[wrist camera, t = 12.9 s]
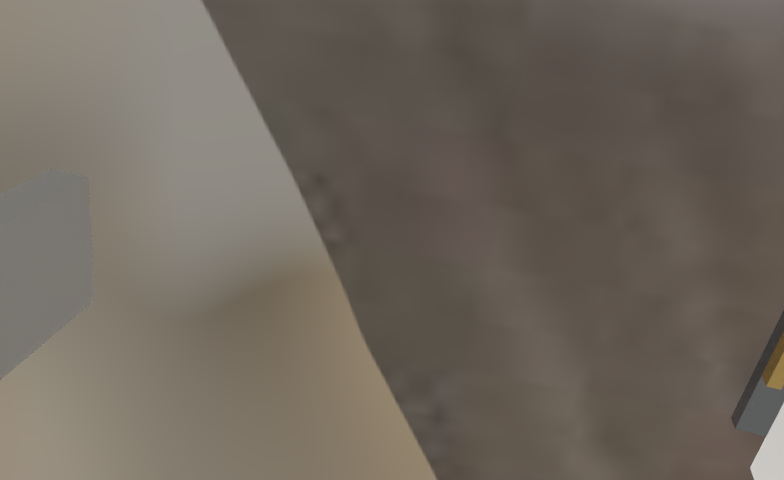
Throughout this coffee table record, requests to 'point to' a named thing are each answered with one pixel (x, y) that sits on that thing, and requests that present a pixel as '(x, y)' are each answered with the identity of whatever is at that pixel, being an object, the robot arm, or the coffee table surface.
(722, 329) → the coffee table surface
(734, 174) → the coffee table surface
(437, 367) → the coffee table surface
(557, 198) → the coffee table surface
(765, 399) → the coupling bench
